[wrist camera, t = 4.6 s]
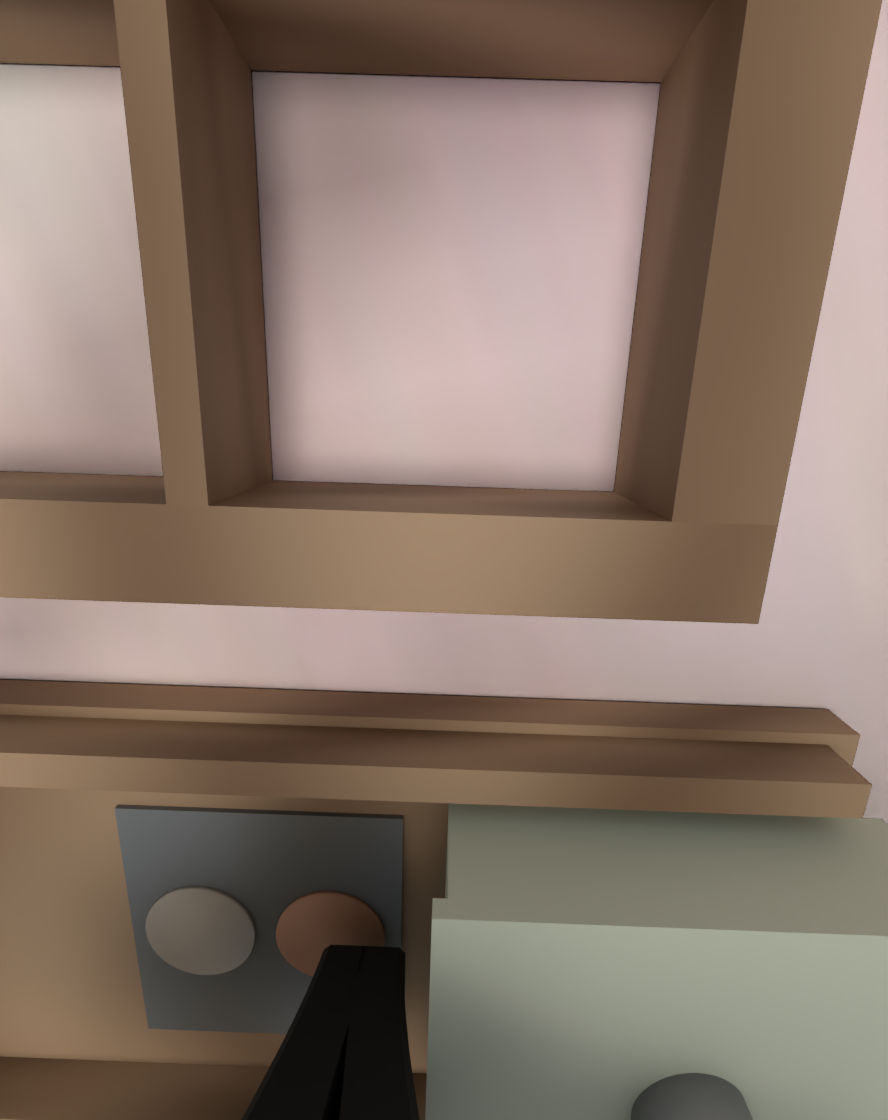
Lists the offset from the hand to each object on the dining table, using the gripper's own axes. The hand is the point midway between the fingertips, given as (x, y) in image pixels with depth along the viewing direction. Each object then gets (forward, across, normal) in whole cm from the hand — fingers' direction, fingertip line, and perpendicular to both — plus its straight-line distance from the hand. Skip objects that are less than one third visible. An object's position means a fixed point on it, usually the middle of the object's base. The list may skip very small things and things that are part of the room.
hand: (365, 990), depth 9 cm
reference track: (+2, +1, 0) cm, 2 cm away
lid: (+1, -5, 0) cm, 5 cm away
